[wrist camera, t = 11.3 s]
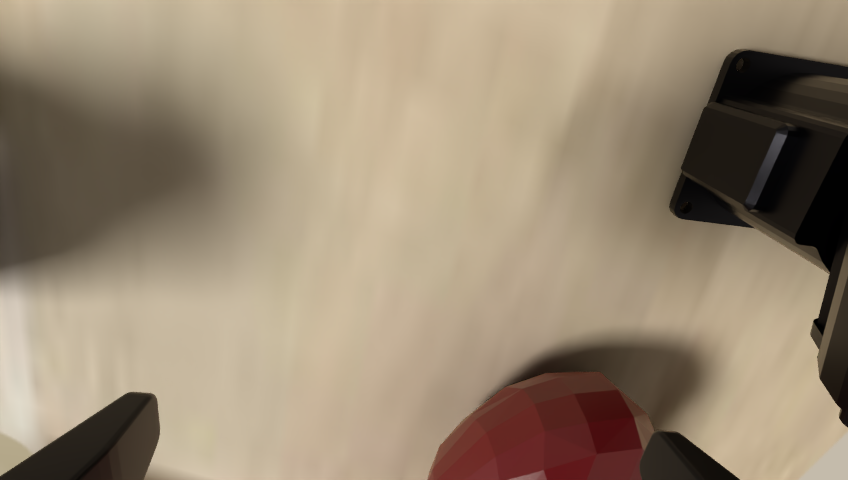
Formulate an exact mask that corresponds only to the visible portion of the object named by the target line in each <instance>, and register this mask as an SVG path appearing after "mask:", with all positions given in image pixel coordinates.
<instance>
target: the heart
mask: <svg viewBox="0 0 848 480" xmlns="http://www.w3.org/2000/svg"><path fill="white" fill-rule="evenodd" d="M654 432H655V431H654V429H653V426H652V424H651V422H650V419H649V417H648V414H647V413H646V412H645V411H643V410H642V409H641V408H640V407H639V406H638V405H637V404H636V403H634V402H633V401H632V400H631V399H630V398H629V397H628V396H627V395H625V394H624V393H623V392H622V391H621V390H620V389H619V388H617V387H616V386H615V385H614V384H613V383H612V382H611V381H610V380H608V379H607V378H606V377H605V376H604V375H603V374H602V373H601V372H559V373H545V374H542V375H539V376H536V377H533V378H530V379H527V380H524V381H521V382H518V383H515V384H513V385H510V386H507V387H505V388H503V389H502V390H501V391H499V392H498V393H497V394H496V395H494V396H493V397H492V398H490V399H489V400H488V401H487V402H485V403H484V404H483V405H481V406H480V407H479V408H478V409H476V410H475V411H474V412H473V413H471V414H470V415H469V416H467V417H466V418H465V419H464V420H463V421H462V422H461V423H460V424H459V425H458V426H457V427H456V428H455V430H454V431H453V432H452V433H451V434H450V435H449V436H448V437H447V439H446V440H445V441H444V442H443V443H442V444H441V445H440V447H439V449H438V452H437V454H436V457H435V459H434V462H433V464H432V467H431V469H430V472H429V476H428V480H642V479H641V475H640V470H639V464H640V459H641V457H642V455H643V453H644V450H645V448H646V446H647V444H648V442H649V439H650V437H651V435H652V434H653V433H654Z"/></svg>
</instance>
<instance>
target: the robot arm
mask: <svg viewBox="0 0 848 480" xmlns="http://www.w3.org/2000/svg"><path fill="white" fill-rule="evenodd" d="M740 59H743V66H742V67H741V69H739V70H738V71H737V69H736V64H737V63H738V61H739V60H740ZM681 169H682V173H681V175H680V178H679V180H678V183H677V186H676V188H675V191H674V194H673V196H672V199H671V201H670V206H669V208H670V211H671V212H672V213H673V214H674V215H675V216H676V217H678V218H680V219H685V220H693V221H702V222H710V223H718V224H726V225H734V226H742V227H750V228H756V229H757V230H759V231H761V232H762V233H764V234H766V235H767V236H769V237H770V238H772V239H774V240H775V241H777V242H779V243H780V244H782V245H783V246H785V247H787V248H788V249H790V250H792V251H793V252H795V253H796V254H798V255H800V256H801V257H803V258H805V259H806V260H808V261H809V262H811V263H813V264H814V265H816V266H818V267H819V268H821V269H822V270H824V271H826V272H827V273H829V274H830V275H829V279H828V283H827V287H826V290H825V294H824V298H823V302H822V306H821V310H820V314H819V318H817V319H815V320H814V321H813V325H812V329H811V333H810V335H811V337H812V339H813V340H814V342H815V344H816V345H817V347H818V349H819V353H818V356H817V358H818V368H819V378H820V380H821V381H822V383H823V384H824V386H825V387H826V389H827V390H828V392H829V393H830V395H831V397H832V398H833V400H834V401H835V403H836V404H837V405H838V406H839V407H840V408H841V410H840V413H839V419H840V420H841V421H842V423H843V424H844V425H846V426H847V427H848V67H845V66H839V65H833V64H827V63H821V62H815V61H810V60H804V59H798V58H792V57H786V56H780V55H774V54H768V53H762V52H756V51H750V50H735V51H733V52H731V53H730V54H729V55H728V56H727V57H726V59H725V60H724V62H723V65H722V67H721V70H720V73H719V75H718V78H717V81H716V83H715V86H714V88H713V91H712V94H711V96H710V99H709V102H708V104H707V106H706V107H704V109H703V112H702V114H701V117H700V120H699V122H698V125H697V128H696V130H695V133H694V135H693V138H692V141H691V143H690V146H689V149H688V151H687V154H686V157H685V159H684V162H683V164H682V167H681ZM685 202H688V203H687V206H686V207H685V208H684V209H682V210H680V207H681V206H682V204H683V203H685ZM159 435H160V423H159V413H158V404H157V398H156V396H155V395H154V394H152V393H141V392H129V393H127V394H125V395H123V396H122V397H120V398H119V399H117V400H115V401H114V402H112V403H111V404H109V405H108V406H106V407H105V408H103V409H102V410H100V411H99V412H97V413H96V414H94V415H93V416H91V417H90V418H88V419H87V420H85V421H84V422H82V423H80V424H79V425H77V426H76V427H74V428H73V429H71V430H70V431H68V432H67V433H65V434H64V435H62V436H61V437H59V438H58V439H56V440H55V441H53V442H52V443H50V444H49V445H47V446H45V447H44V448H42V449H41V450H39V451H38V452H36V453H35V454H33V455H32V456H30V457H29V458H27V459H26V460H24V461H23V462H21V463H20V464H18V465H17V466H15V467H14V468H12V469H11V470H9V471H7V472H6V473H5V474H3V475H1V476H0V480H144V477H145V475H146V472H147V470H148V467H149V464H150V462H151V459H152V457H153V454H154V451H155V449H156V446H157V443H158V440H159ZM639 470H640V475H641V479H642V480H740V479H739V478H737V477H736V476H735V475H733V474H732V473H731V472H729V471H728V470H727V469H726V468H724V467H723V466H722V465H720V464H719V463H718V462H716V461H715V460H714V459H713V458H711V457H710V456H709V455H707V454H706V453H705V452H703V451H702V450H701V449H700V448H698V447H697V446H696V445H694V444H693V443H692V442H690V441H689V440H688V439H686V438H685V437H684V436H683V435H681V434H680V433H678V432H675V431H663V430H658V431H655V432H654V433H653V434H652V435H651V437H650V439H649V442H648V444H647V446H646V448H645V450H644V453H643V455H642V457H641V459H640V464H639Z"/></svg>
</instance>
